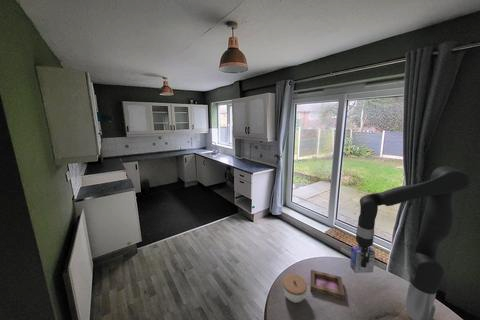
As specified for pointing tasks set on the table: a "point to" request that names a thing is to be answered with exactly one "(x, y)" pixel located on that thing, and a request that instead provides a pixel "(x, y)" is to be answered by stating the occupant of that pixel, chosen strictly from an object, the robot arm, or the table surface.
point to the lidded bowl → (294, 288)
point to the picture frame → (327, 285)
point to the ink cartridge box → (356, 260)
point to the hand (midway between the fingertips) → (361, 262)
